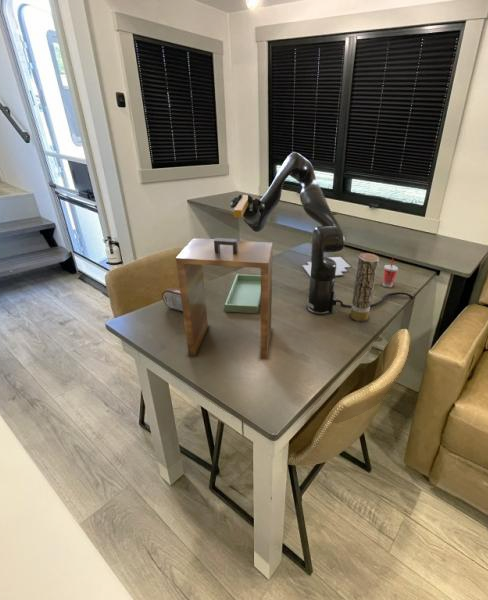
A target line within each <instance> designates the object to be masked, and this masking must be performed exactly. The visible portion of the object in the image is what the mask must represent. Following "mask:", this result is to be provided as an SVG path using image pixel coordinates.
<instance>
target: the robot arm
mask: <svg viewBox="0 0 488 600" xmlns="http://www.w3.org/2000/svg"><path fill="white" fill-rule="evenodd" d="M289 176H290V177H291V178H293V179H294V180H296V181H297V182H298V183H299V184H300V186H301V190H300V193H299V200H300V203H301V206H302V208H303V210H304V212H305V214H306V215H307V216H308V217H309V218H310V219H312V220H314V222H317V223H318V224H319V226H315V227H314V228H313V230H312V233H311V253H310V255H311V256H310V262H311V276H310V275H309V279H310V280H309V290H308V302H307V310H308V311H309V312H310V313H312V314H315V315H327V314H332V312H333V306H334V307H336V306H337V303H339V305H340V306H342V307H344V308H351V307H352V305H347V304H344V303H343V301H341V300H340V299H337V296H336V294H335V280H336V275H335V273H336V262H335V261H334V260H332V259H330V258H329V257H327V256H325V254H324V253H336V252H340V251H342V250H343V249H344V248H345V244H346V238H345V233H344V231H343V229H342V227H341V225H340V223H339V222H338V220H337V219H336V217H335V215H334V213H333V212H332V209H331V207H330V206H329V204H328V201H327V199H326V197H325V194H324V192H323V190H322V189H321V187H320V183H319V182H318V180H317V177H316V174H315V171H314V166H313V165H312V163H311V162H310V160H308V159H307V158H306V157H304V156H303V155H302V154H300V153H298V152H296V151H293V152H291V153H290V154H289V155H287V156H286V158H285V160H284V161H283V163H282V165H281V166H280V168H279V170H278V171H277V173H276V175H275V177H274V179H273V181H272V183H271V184H270V186H269V187H268V189H267V191H266V192H265V193H264V195H263V196H262V197H261V198H260V199H258V198H253V197H252V196H251V195H250V194H247V195H248V203H249V204H248V206H247V208H246V210H245V212H244V214H243V216H242V221H243V222H244V223H245V224H246V225H247V226H248V227H249V228H250V229H251V230H252V231H253V232H255V233H259V232H261V231H262V230H263V229H264V228H265V226H266V223H267V220H268V218H269V216H270V215H271V213H272V212H273V211H274V209H275V208H276V207H277V206H278V204H279V202H280V200H281V197H282V191H283V185H284V183H285V181H286V179H287V178H288V177H289ZM242 196H243V195H242V194H239V195H238V196H237V197H233V199H231V200H230V208H231V209H233V208H234V209H235V207H236V206H237V204H238V203H239V201H240V200H241V198H242ZM320 225H321V226H320ZM397 295H402V296H403V295H404V296H407V297H409V298H411V299H414V296H413V295H412V294H410V293H408V292H403V291H402V292H401V291H399V292H390V293H386V294H385V295H384V296H383V298H382V299H381V300H379V301H378V302H375V303H371V304H370V308H372V307H376V306H378V305H380V304H382V303H384V302H385V301H386V299H387V297H389V296H397Z"/></svg>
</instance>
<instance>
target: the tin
mask: <svg viewBox="0 0 488 600" xmlns="http://www.w3.org/2000/svg"><path fill="white" fill-rule="evenodd" d="M161 298H162V300H163V303H164V304H165V305H166V306H167V307H168V308H169V309H171V310H175V311H179V312H182V313H183V309H182V301H181V294H180V288H177V287H173V286H170V287H167V288H166V289H165V290H164V291H162V293H161Z"/></svg>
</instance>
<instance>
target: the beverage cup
mask: <svg viewBox="0 0 488 600" xmlns="http://www.w3.org/2000/svg"><path fill="white" fill-rule="evenodd" d="M394 258H395V257H394V256H392V258H391V263H390V264H385V265H383V266H384V267H383V269H384V270H383V277H382V286H383V287H386V288H392V287H393V286H394V283H395V278H396V275H397V272H398V270H399V267H398V266H397V265H394Z"/></svg>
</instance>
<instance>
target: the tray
mask: <svg viewBox="0 0 488 600" xmlns="http://www.w3.org/2000/svg"><path fill="white" fill-rule="evenodd" d="M260 305H261V274H260V275H258V274H241V273H240V274H239V273H236V275H235V278H234V280H233V283H232V285H231V288H230V290H229V293H228V295H227V298H226V300H225V303H224V312H225V313H243V314H244V313H245V314H247V313H248V314H258V312H259V308H260Z"/></svg>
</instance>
